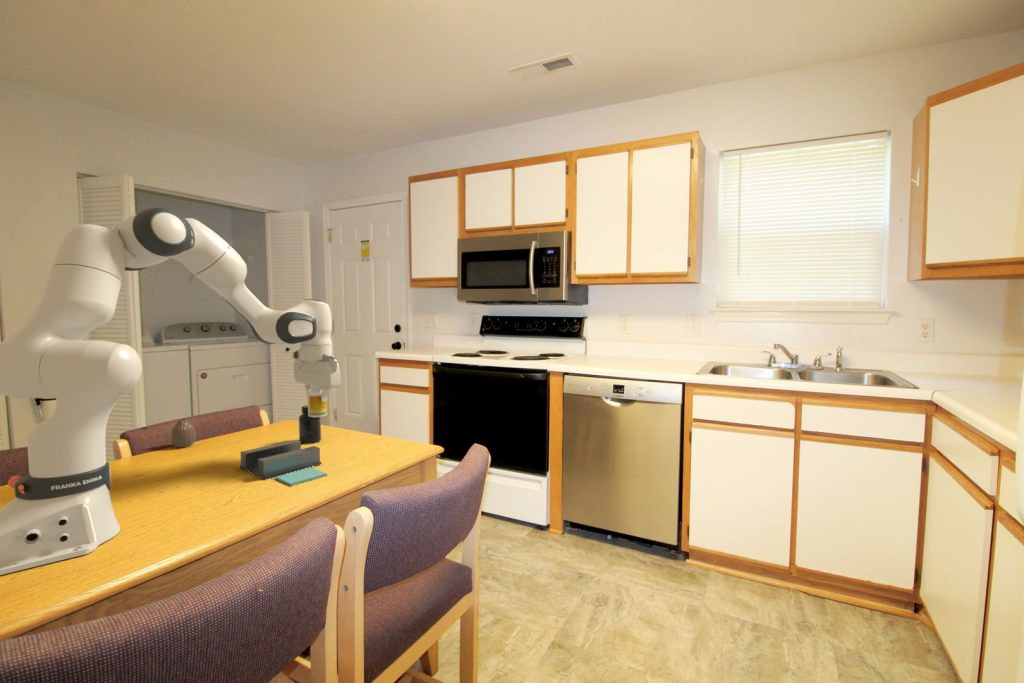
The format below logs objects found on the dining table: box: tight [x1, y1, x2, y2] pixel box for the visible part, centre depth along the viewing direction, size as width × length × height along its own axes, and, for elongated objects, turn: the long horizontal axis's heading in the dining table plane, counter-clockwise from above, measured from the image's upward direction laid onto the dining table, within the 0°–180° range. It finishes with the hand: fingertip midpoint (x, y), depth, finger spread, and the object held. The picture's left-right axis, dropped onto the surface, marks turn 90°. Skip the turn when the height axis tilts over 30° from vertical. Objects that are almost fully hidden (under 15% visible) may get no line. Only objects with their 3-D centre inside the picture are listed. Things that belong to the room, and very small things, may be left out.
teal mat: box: [275, 467, 328, 487], centre depth 131 cm, size 10×8×1 cm
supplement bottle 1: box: [307, 384, 328, 418], centre depth 147 cm, size 5×5×10 cm
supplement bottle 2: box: [298, 404, 322, 444], centre depth 166 cm, size 7×7×12 cm
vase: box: [169, 418, 197, 449], centre depth 159 cm, size 7×7×9 cm
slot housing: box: [239, 439, 322, 481], centre depth 140 cm, size 16×15×5 cm
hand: (317, 399), depth 147 cm, fingers closed on supplement bottle 1, 5 cm apart
